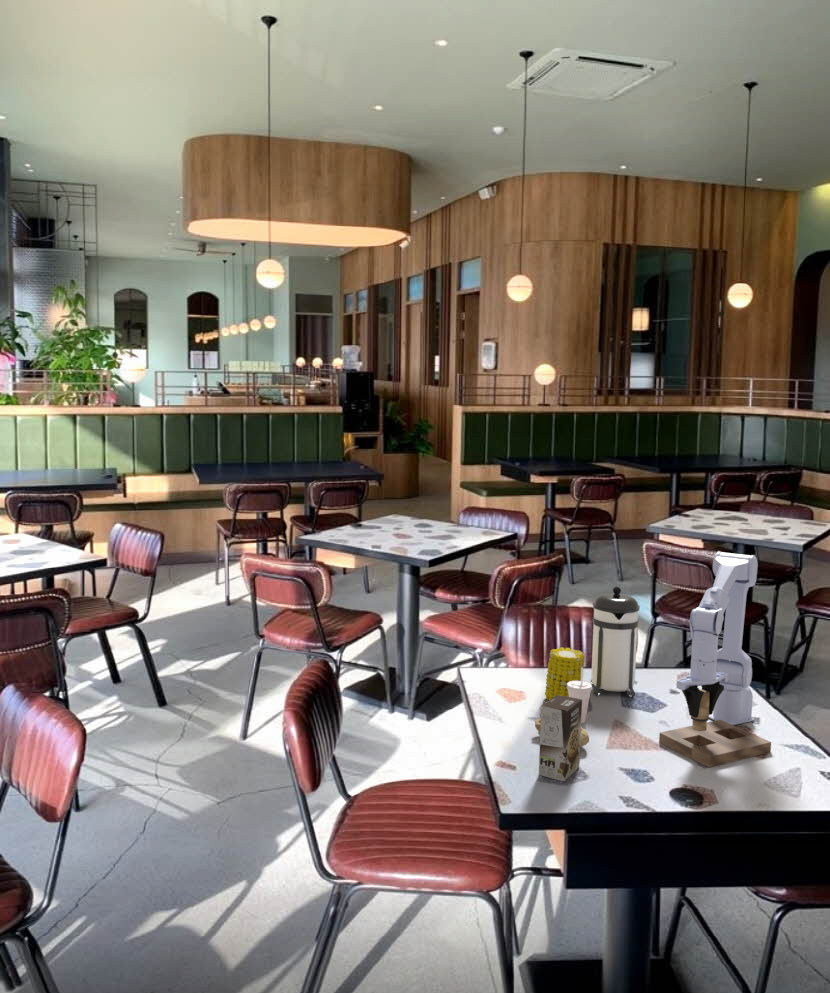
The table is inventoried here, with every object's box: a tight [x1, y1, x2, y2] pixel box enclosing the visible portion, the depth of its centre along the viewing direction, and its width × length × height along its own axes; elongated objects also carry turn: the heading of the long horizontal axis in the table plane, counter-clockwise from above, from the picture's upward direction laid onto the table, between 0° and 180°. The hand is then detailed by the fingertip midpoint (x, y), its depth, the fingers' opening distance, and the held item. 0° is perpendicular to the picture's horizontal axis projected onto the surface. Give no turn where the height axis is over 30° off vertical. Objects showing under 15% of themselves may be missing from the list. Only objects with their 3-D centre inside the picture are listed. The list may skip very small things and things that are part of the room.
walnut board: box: [658, 720, 772, 768], centre depth 218 cm, size 20×16×2 cm
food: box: [544, 646, 585, 701], centre depth 248 cm, size 15×12×10 cm
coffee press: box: [590, 586, 641, 698], centre depth 257 cm, size 17×16×30 cm
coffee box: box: [538, 695, 582, 782], centre depth 202 cm, size 9×6×16 cm
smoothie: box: [567, 667, 593, 724], centre depth 233 cm, size 6×6×14 cm
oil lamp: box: [534, 717, 590, 748], centre depth 219 cm, size 11×14×5 cm
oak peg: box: [690, 688, 710, 731], centre depth 215 cm, size 4×4×9 cm
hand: (700, 714), depth 215 cm, fingers closed on oak peg, 4 cm apart
